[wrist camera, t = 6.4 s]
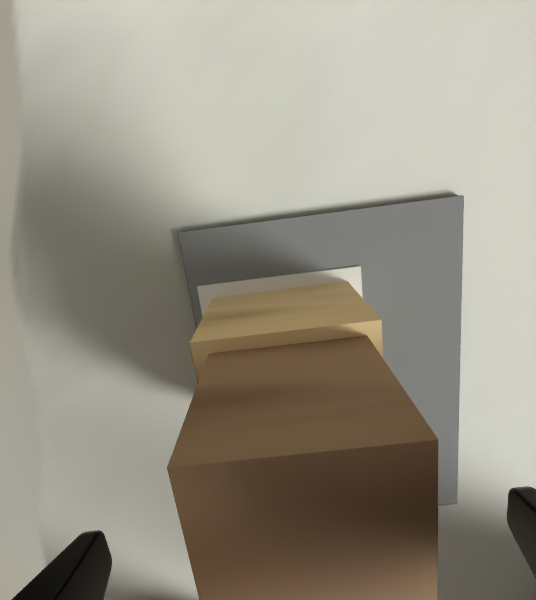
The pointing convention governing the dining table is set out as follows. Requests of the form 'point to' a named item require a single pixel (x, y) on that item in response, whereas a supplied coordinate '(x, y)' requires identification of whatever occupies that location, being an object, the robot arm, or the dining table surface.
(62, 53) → the dining table surface
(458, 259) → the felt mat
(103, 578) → the robot arm
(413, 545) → the walnut cube
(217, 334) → the oak base block
